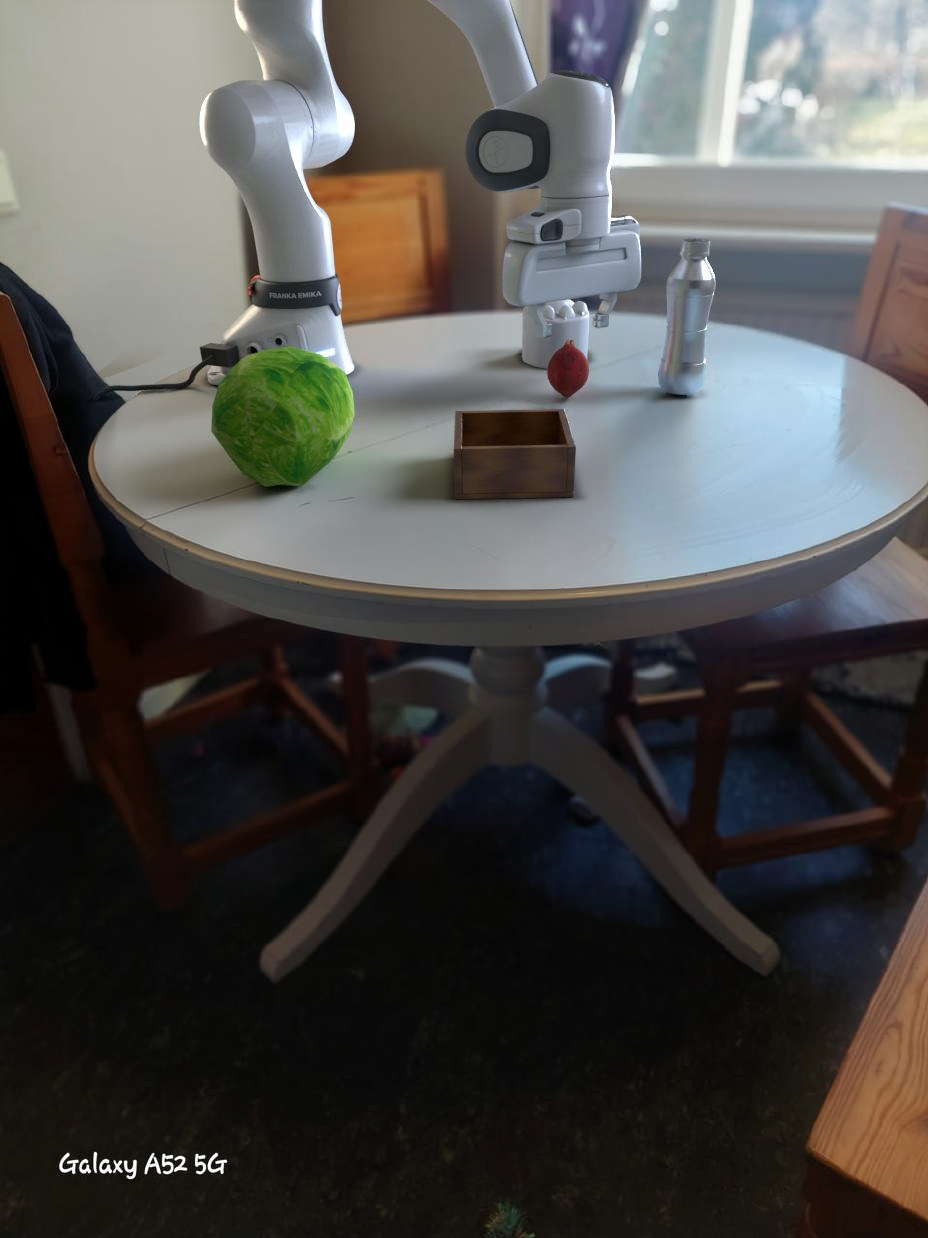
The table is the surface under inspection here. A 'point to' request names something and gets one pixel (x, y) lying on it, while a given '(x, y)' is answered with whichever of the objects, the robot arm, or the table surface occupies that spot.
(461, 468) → the brown bin
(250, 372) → the lettuce
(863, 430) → the table surface
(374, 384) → the table surface
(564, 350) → the onion
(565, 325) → the lumpy-topped squat cylinder
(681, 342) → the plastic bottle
